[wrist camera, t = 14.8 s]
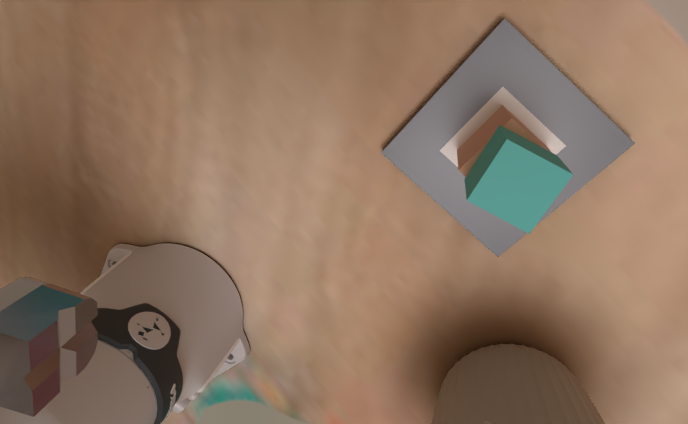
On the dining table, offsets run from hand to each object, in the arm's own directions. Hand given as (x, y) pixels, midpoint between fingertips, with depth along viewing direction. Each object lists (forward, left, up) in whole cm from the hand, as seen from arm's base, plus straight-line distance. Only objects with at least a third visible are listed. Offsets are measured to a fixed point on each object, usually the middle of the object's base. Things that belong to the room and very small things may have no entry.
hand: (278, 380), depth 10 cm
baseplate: (+3, -8, -34) cm, 35 cm away
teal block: (+3, -8, -27) cm, 28 cm away
